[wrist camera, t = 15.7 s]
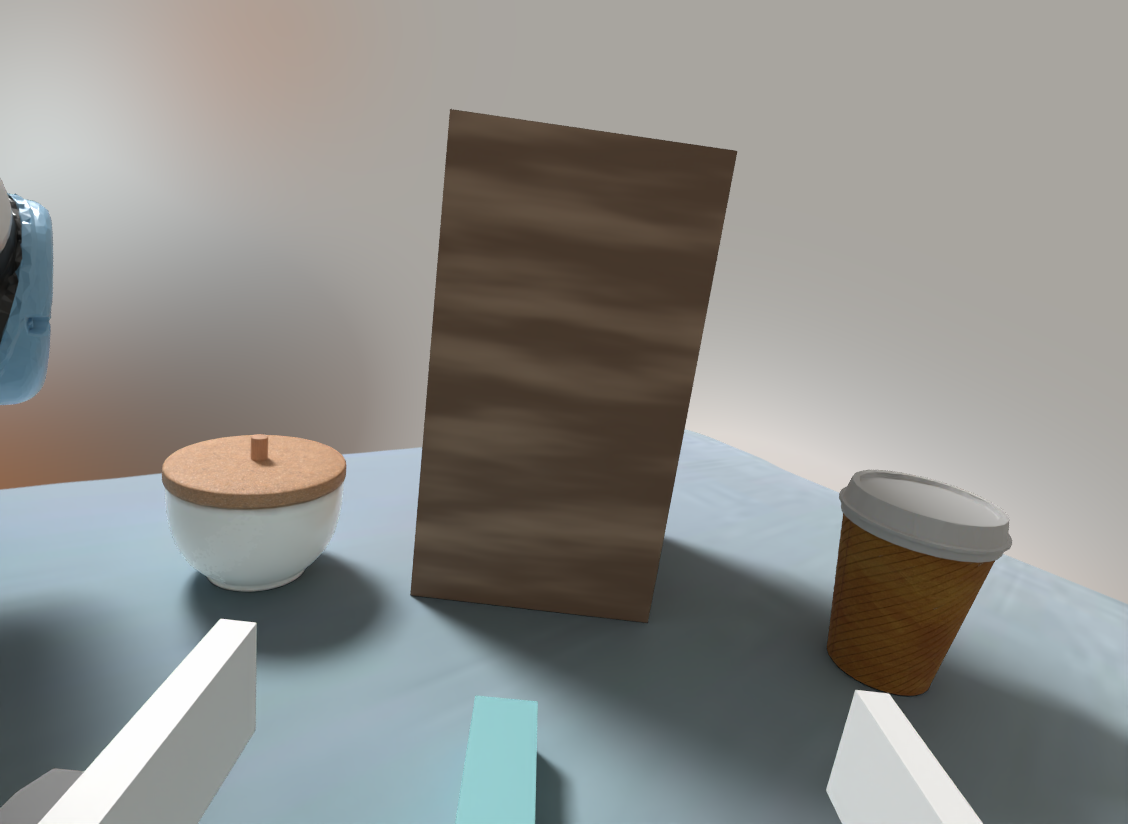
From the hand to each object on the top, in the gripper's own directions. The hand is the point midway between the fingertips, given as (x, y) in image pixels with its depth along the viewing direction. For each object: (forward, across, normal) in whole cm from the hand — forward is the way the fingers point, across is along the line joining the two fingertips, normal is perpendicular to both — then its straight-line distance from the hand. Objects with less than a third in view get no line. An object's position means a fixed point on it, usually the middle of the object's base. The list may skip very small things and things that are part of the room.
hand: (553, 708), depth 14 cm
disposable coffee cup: (+25, +23, -14) cm, 37 cm away
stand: (+34, 0, -14) cm, 37 cm away
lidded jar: (+28, -19, -14) cm, 36 cm away
